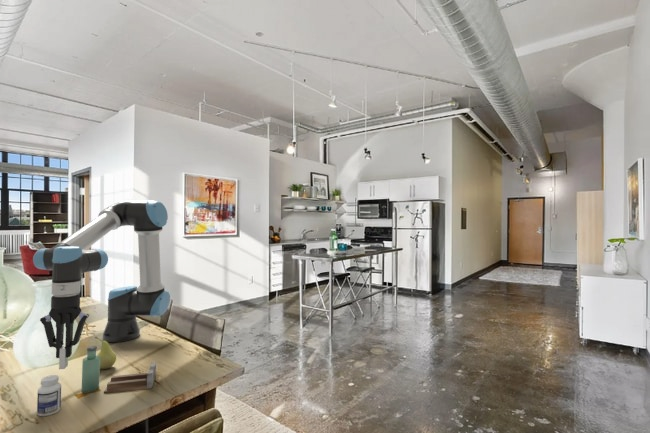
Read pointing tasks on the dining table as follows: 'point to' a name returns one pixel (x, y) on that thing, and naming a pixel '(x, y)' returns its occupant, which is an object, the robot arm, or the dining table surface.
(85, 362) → the bottle
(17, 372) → the dining table surface
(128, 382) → the cradle
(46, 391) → the pill bottle
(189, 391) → the dining table surface
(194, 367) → the dining table surface
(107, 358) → the fruit
